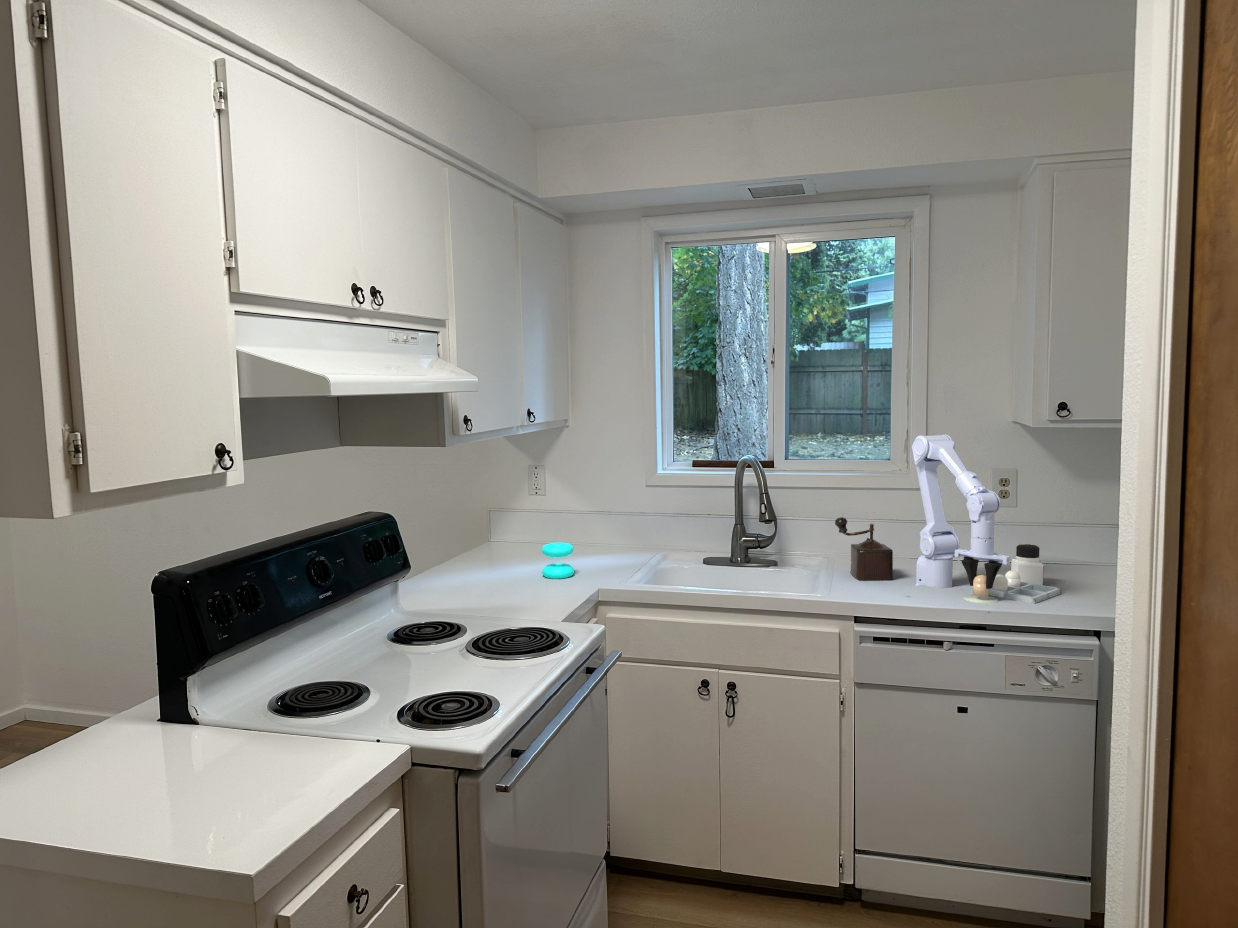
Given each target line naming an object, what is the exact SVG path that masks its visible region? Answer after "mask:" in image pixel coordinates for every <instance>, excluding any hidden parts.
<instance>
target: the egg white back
mask: <svg viewBox="0 0 1238 928" xmlns="http://www.w3.org/2000/svg"><path fill="white" fill-rule="evenodd" d="M1004 576H1005V577H1006V578H1007V580H1008V586H1012V587H1018V588H1019V587H1020V580H1021V577H1020V574H1019V573H1018V572H1017V571H1014V570H1007V572H1006V573H1005V575H1004Z"/></svg>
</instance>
